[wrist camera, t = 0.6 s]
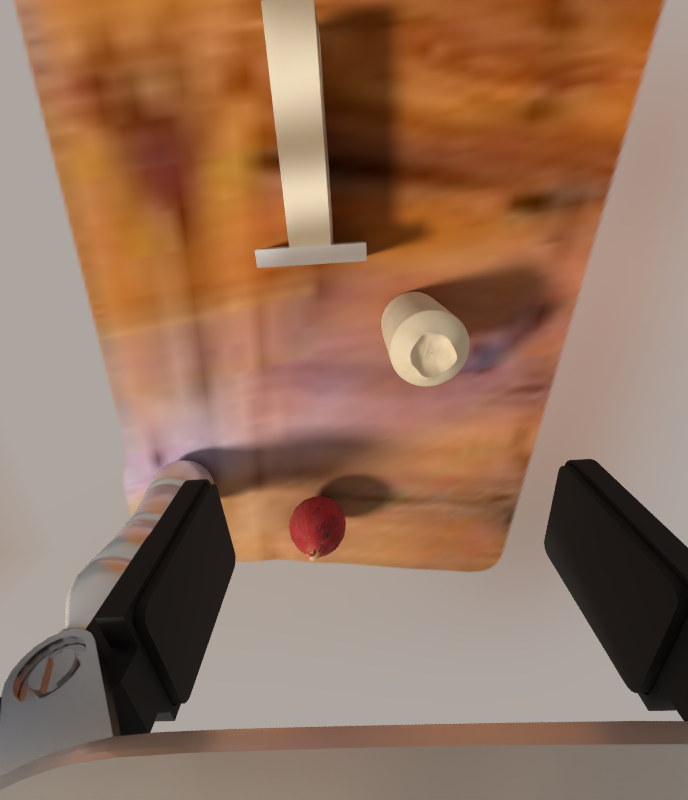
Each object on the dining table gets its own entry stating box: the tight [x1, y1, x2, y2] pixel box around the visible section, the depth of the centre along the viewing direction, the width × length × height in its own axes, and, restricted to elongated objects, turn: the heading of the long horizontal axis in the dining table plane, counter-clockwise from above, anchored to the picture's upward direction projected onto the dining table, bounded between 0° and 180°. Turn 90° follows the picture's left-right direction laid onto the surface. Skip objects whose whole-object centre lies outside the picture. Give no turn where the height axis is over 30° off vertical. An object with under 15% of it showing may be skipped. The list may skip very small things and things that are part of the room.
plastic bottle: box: [57, 460, 215, 634], centre depth 32 cm, size 6×7×20 cm
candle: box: [381, 292, 470, 386], centre depth 29 cm, size 6×6×10 cm
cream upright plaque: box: [255, 0, 367, 268], centre depth 26 cm, size 14×8×5 cm, turn 4°
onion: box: [289, 496, 346, 561], centre depth 38 cm, size 6×6×8 cm
